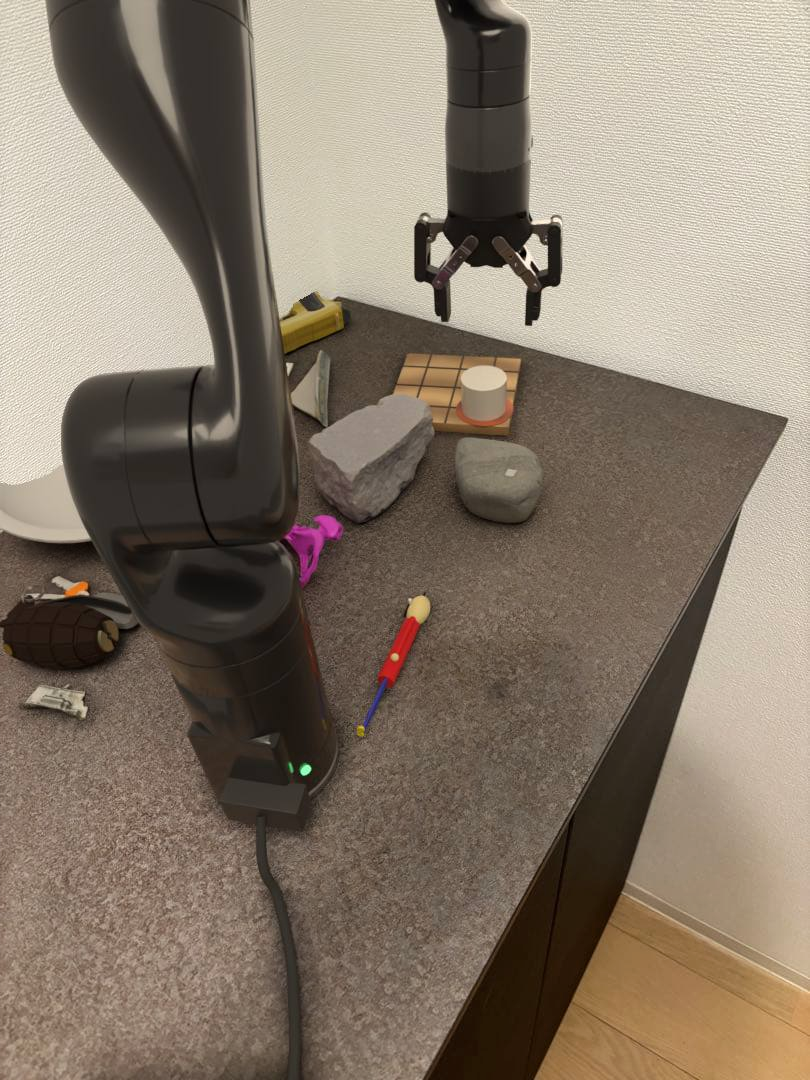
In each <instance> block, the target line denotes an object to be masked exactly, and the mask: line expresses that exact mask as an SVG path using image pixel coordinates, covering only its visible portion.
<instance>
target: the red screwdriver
mask: <svg viewBox="0 0 810 1080" xmlns="http://www.w3.org/2000/svg"><path fill="white" fill-rule="evenodd" d="M426 595H427V592H425V591H423V594H422V595H417V596H415V597H414V598H411V597H408V599H407V604H406V607H405V610H404V613H403V616H402V618H405V619H404V620H403V623H402V625H401V627H400V629H399V631H398V633H397V635H396V637H395V640H394V641H393V644H392V646H391V648H390V650H389V652H388V654H387V656H386V659H385V661H384V663H383V665H382V667H381V669H380V672H379V674H378V675H377V678H376V679H377V682H378V683H379V684H380V686H379V689H378V691H377V693H376V695H375V698H374V699H373V702H372V703H371V706H370V708H369V710H368V713H367V715H366V717H365V719H364V721H363V723H362V725H358V727H356V730H357V732H356V735H357V736H358V737H360V738H363V737H365V733H366V731H367V730H368V727H369V725H370V723H371V720H372V719H373V716H374V714H375V711H376V710H377V707H378V705H379V703H380V701H381V698H382V697H383V694H384V692H385V689H386V688H392V687H394V685H395V682H396V681H397V678H398V676H399V674H400V672H401V669H402V668H403V665H404V662H405V660H406V658H407V656H408V655H409V651H410V649H411V647H412V645H413V643H414V640H415V638H416V636H417V634H418V631H419V629H420V627H421V625H422V624H423V623H424V622H425V621H427V619H428V617H429V615H430V613H431V602H430V600H429V598H428V597H427V596H426Z"/></svg>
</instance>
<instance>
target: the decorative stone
mask: <svg viewBox="0 0 810 1080" xmlns="http://www.w3.org/2000/svg"><path fill="white" fill-rule="evenodd" d="M432 422H433V415H432V412H431V409H430V406H429V404H428V403H426V402H425V401H423V400H422V399H419V398H416V397H411V396H409V395H406V394H393V393H392V394H389V395H387V396H384V397H382V398H379V400H378V403H377V404H376V405H375V404H371V405H370V404H369V405H366V406H365V407H363V408H362V409H357V410H355V411H353V412H350V413H349V414H347V415H346V416H344V417H343V418H341V419H339V420H337V421H335V422H334V423H331V425H330V426H327V427H325V428H323V429H322V430H321V432H317V433H315V434H313V435H312V436H311V437H310V439H309V440H308V442H307V447H308V452H309V455H310V457H311V459H310V460H311V462H312V466H313V468H314V484H315V486H316V488H317V490H318V491H319V494H320V495H321V497H323V498H324V500H325V501H326V502H328V503H329V505H330V506H331V507H333V508H335V509H336V510H337V511H338V512H340V513H341V514H342V515H343V516H344V517H345V518H347V519H349V520H350V521H352V522H354V523H356V524H362V523H364V522H368V521H369V520H371V519H374V518H376V516H378V515H380V514H381V513H382V512H384V511H386V510H387V509H389V507H390V506H391V505H393V503H394V502H395V501H396V500H397V499H398V498H399V496H400V494H401V493H402V492H403V491H404V490H405V489H407V487H408V486H409V485H410V484H412V483H413V481H414V479H415V478H416V477H415V476H416V472H417V469H418V465H419V464H420V461H421V460H422V458H423V457H424V456H425V453H426V450H427V446H428V445H429V444H430V443H431V442H432V441H433V440H434V436H435V432H436V431H434V428H433V426H432Z"/></svg>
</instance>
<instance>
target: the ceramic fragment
mask: <svg viewBox="0 0 810 1080" xmlns="http://www.w3.org/2000/svg"><path fill="white" fill-rule="evenodd" d="M330 368H331V357H330V356H329V355H328V354H327V352H326V351H325V350H323V349H320V350H319V351H318V354H317V358H316V362H315V363H314V364H313V366H312V367H310V370H309V371H308V372H307V374H305V376H304V377H303V378H302V380H301V381H300V382H299V383H298V384H297V386H296V387H295V389H294V390H293V391H292V392H290V393H291V399H292V406H293V408H295V409H296V410H298V411H300V412H301V413H303V414H306V415H308V416H310V417H312V418H313V419H314V420H317V421H318V422H319V423H320V424H321V425H322V426H323V427H325V428H327V427H329V426H328V425H329V424H328V423H329V421H328V419H329V417H328V402H329V401H328V398H329V384H330V383H329V381H330Z"/></svg>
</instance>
